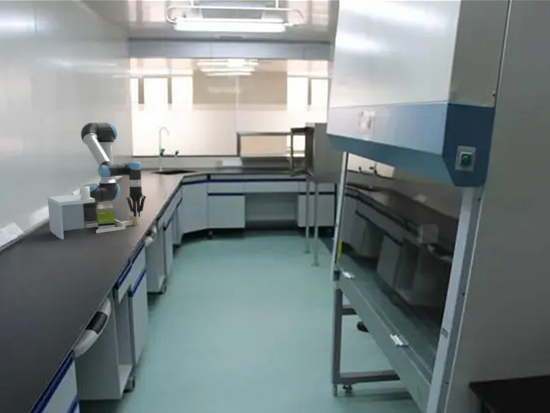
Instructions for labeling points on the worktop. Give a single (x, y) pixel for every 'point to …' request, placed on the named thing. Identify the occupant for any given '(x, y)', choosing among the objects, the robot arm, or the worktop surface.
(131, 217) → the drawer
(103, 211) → the tea box
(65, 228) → the panel
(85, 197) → the white rounded capsule
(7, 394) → the worktop surface
